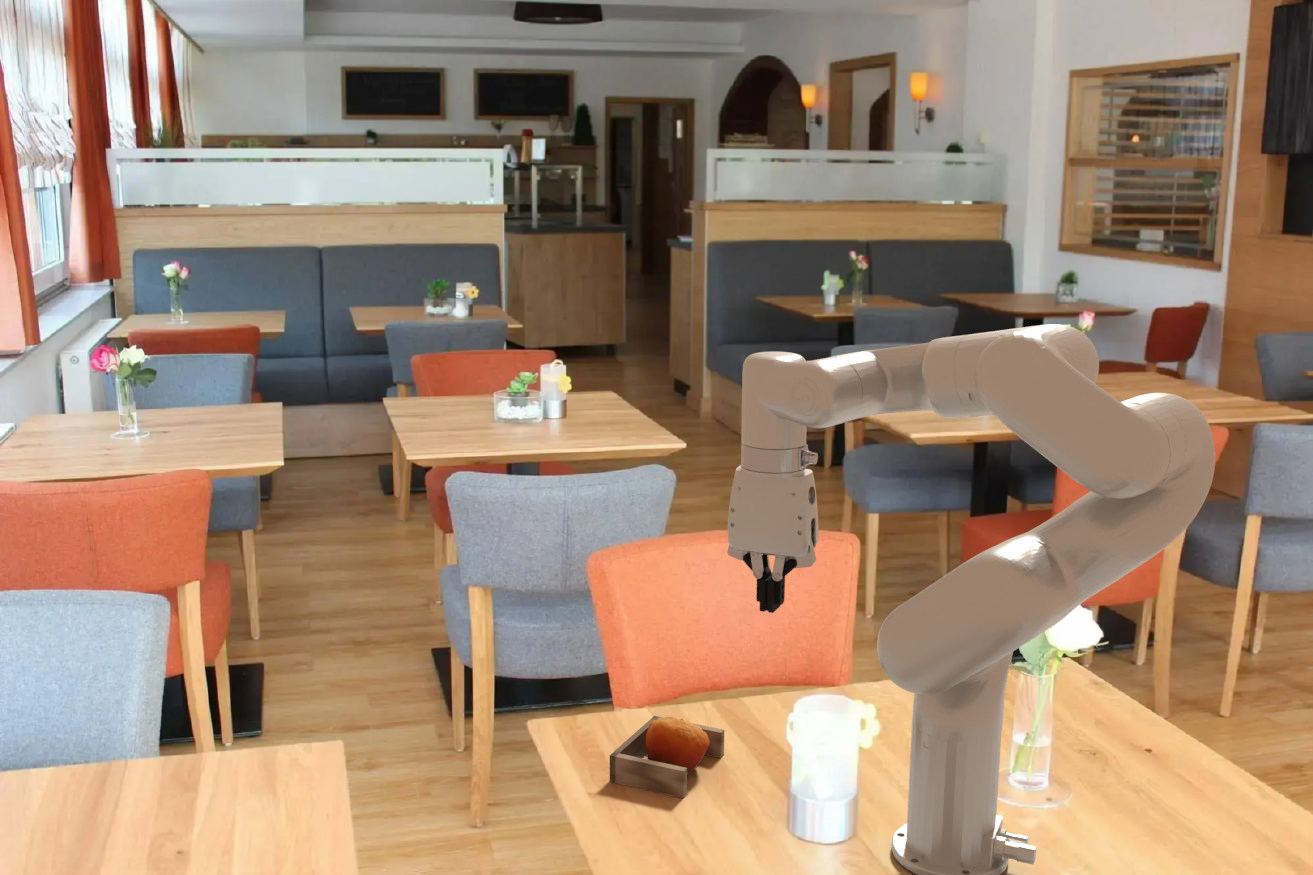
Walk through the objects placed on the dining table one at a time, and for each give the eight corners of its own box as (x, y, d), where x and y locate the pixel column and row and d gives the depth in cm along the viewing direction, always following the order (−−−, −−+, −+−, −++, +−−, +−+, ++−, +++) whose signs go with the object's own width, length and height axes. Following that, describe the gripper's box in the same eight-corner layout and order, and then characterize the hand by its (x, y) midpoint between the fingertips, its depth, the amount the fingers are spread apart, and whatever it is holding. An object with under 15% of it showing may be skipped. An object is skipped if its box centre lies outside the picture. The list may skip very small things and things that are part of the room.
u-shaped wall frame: (723, 754, 167) (724, 729, 166) (683, 798, 155) (683, 771, 155) (654, 740, 171) (654, 715, 170) (609, 781, 160) (609, 755, 159)
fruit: (624, 769, 160) (641, 706, 162) (652, 778, 166) (668, 717, 168) (680, 785, 156) (697, 720, 158) (706, 793, 162) (723, 731, 164)
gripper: (844, 458, 150) (839, 608, 154) (725, 446, 156) (723, 591, 160) (825, 471, 143) (821, 627, 147) (701, 459, 149) (700, 609, 153)
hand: (770, 608), depth 153 cm, fingers closed
